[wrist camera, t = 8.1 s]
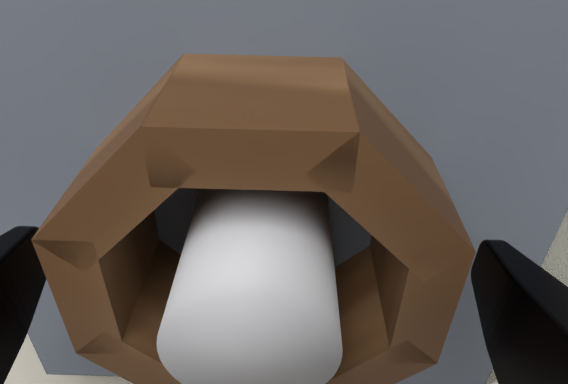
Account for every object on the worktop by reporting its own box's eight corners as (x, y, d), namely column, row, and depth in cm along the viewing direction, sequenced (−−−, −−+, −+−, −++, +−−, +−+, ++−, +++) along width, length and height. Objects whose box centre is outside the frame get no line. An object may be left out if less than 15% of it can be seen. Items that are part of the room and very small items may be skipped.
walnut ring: (454, 60, 9) (516, 135, 6) (394, 314, 13) (417, 420, 10) (71, 50, 9) (-17, 122, 6) (135, 307, 13) (98, 410, 10)
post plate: (695, -164, 8) (1173, -200, 3) (473, 360, 16) (537, 535, 11) (-162, -185, 8) (-698, -246, 3) (59, 347, 16) (-24, 517, 12)
